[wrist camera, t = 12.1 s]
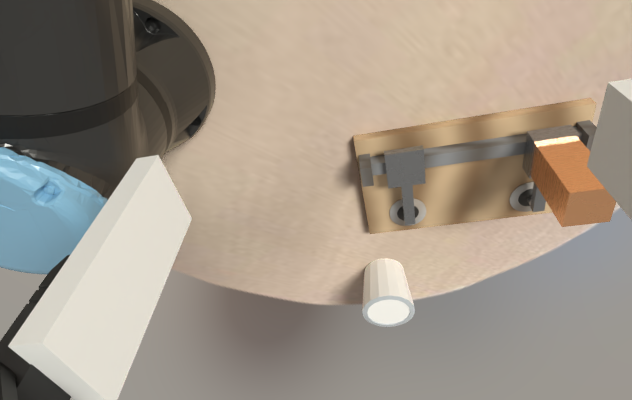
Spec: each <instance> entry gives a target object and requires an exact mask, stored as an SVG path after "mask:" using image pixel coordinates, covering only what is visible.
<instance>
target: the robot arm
mask: <svg viewBox="0 0 632 400" xmlns="http://www.w3.org/2000/svg"><path fill="white" fill-rule="evenodd" d="M214 98H215V76H214V71H213V67H212V64H211V61H210V58H209V56H208V54H207V52H206V50H205V48H204V46H203V44H202V43H201V41H200V40H199V38H198V37H197V36H196V34H195V33H194V32H193V31H192V29H191V28H190V27H189V26H188V25H187V24H186V23H185V22H184V21H183V20H182V19H181V18H179V17H178V16H177V15H176V14H174V13H173V12H172V11H170V10H169V9H167V8H165V7H164V6H162V5H160V4H158V3H156V2H154V1H152V0H0V267H1V268H5V269H9V270H14V271H19V272H25V273H34V274H48V275H47V276H46V277H45V279H44V280H43V282H42V283H41V284H40V286H39V290H36V292H35V293H34V294H33V296H32V297H31V299H30V300H29V302H30V303H29V304H26V306H25V307H24V309H23V310H22V311H21V313H20V314H19V316H18V317H17V318H16V320H15V321H14V323H13V324H12V326H11V327H10V329H9V330H8V331H7V333H6V334H5V336H4V337H3V338H2V340H1V341H0V400H70V398H72V399H73V400H117V399H118V397H119V394H120V392H121V389H122V387H123V385H124V382H125V379H126V377H127V375H128V372H129V370H130V367H131V365H132V363H133V360H134V358H135V355H136V353H137V351H138V348H139V345H140V343H141V341H142V338H143V336H144V334H145V331H146V329H147V326H148V324H149V321H150V319H151V317H152V314H153V312H154V309H155V307H156V304H157V302H158V300H159V297H160V295H161V292H162V290H163V287H164V285H165V283H166V280H167V278H168V275H169V273H170V270H171V268H172V266H173V263H174V261H175V258H176V256H177V253H178V251H179V249H180V246H181V244H182V241H183V239H184V236H185V234H186V232H187V229H188V227H189V224H190V222H191V219H192V218H191V216H190V214H189V212H188V210H187V208H186V206H185V204H184V202H183V201H182V199H181V197H180V195H179V193H178V191H177V189H176V187H175V185H174V184H173V182H172V180H171V178H170V176H169V174H168V172H167V170H166V168H165V167H164V165H163V163H162V161H161V159H162V157H163V155H164V154H165V153H166V152H168V151H169V150H171V149H173V148H175V147H176V146H178V145H180V144H182V143H183V142H185V141H187V140H188V139H190V138H191V137H192V136H193V135H195V134H196V132H197V131H198V130H199V129H200V128H201V127H202V125H203V124H204V122H205V120H206V118H207V116H208V114H209V112H210V110H211V108H212V105H213V102H214ZM587 167H588V168H589V169H590V171H591V172H592V173H593V174H594V176H595V177H596V178H597V179H598V180H599V182H600V183H601V184H602V185H603V186H604V188H605V189H606V190H607V191H608V192H609V194H610V195H611V196H612V197H613V198H614V200H615V201H616V202H617V203H618V205H619V206H620V207H621V208H622V209H623V210H624V212H625V213H626V214H627V215H628V217H629V218H630V219H631V220H632V79H626V80H620V81H614V82H608V85H607V89H606V93H605V97H604V101H603V104H602V108H601V112H600V116H599V120H598V124H597V128H596V132H595V136H594V140H593V144H592V148H591V152H590V156H589V160H588V163H587Z"/></svg>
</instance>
